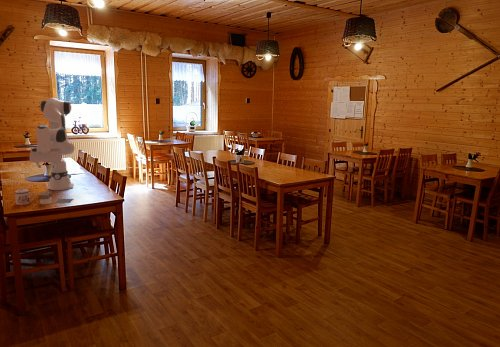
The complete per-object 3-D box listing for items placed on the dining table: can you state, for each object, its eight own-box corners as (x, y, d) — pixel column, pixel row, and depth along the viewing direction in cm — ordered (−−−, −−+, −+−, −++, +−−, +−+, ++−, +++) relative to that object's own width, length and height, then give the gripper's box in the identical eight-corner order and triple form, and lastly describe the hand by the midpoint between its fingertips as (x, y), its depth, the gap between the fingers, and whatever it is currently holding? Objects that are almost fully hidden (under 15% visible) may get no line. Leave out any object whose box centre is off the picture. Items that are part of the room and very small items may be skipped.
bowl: (42, 203, 266) (42, 196, 265) (52, 202, 267) (52, 196, 266) (39, 205, 259) (38, 198, 258) (49, 205, 261) (49, 198, 260)
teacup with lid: (17, 206, 258) (15, 189, 256) (14, 203, 264) (12, 187, 262) (36, 203, 266) (35, 187, 264) (33, 200, 272) (31, 184, 270)
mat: (59, 200, 274) (59, 199, 274) (74, 199, 276) (74, 198, 276) (54, 204, 262) (54, 203, 262) (69, 204, 264) (69, 202, 264)
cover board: (43, 195, 266) (42, 191, 265) (52, 195, 267) (51, 191, 267) (38, 199, 257) (38, 194, 257) (48, 198, 259) (47, 194, 258)
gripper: (62, 147, 268) (63, 166, 272) (30, 147, 264) (33, 167, 268) (59, 149, 262) (61, 168, 266) (27, 149, 258) (29, 169, 262)
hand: (46, 167), depth 267 cm, fingers open, 8 cm apart
